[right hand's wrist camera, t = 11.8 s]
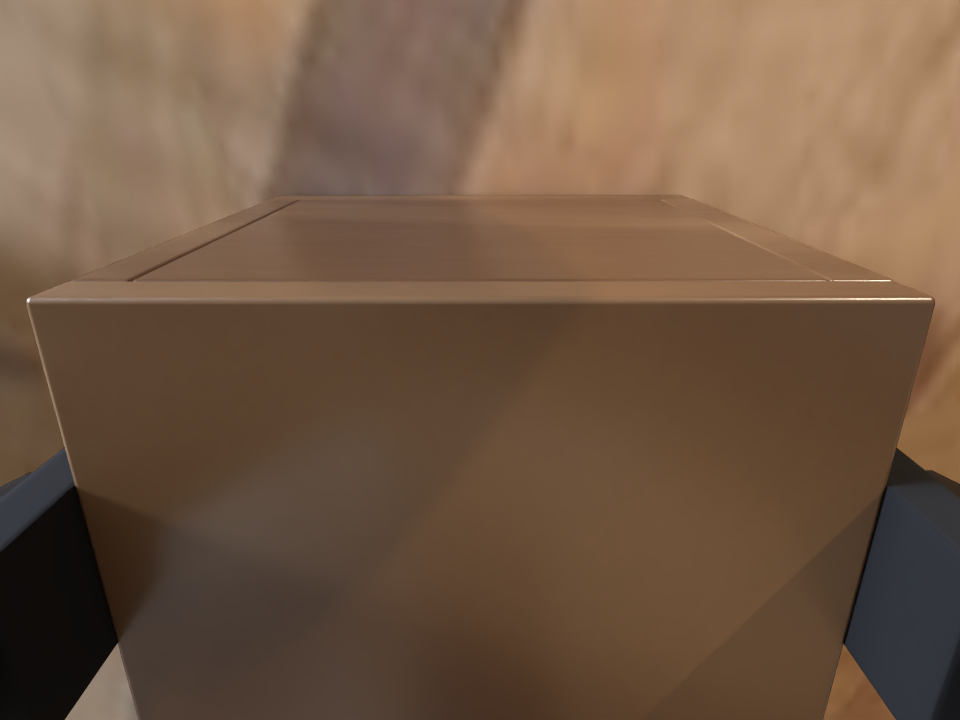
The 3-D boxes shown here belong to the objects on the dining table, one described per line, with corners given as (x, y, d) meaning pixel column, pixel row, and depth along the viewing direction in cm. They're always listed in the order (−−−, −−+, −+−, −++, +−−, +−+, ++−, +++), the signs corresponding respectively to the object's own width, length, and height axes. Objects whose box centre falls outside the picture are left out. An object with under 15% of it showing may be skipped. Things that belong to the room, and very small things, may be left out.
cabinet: (631, 657, 22) (737, 1042, 13) (330, 657, 22) (223, 1041, 13) (683, 194, 17) (940, 297, 7) (277, 195, 17) (19, 297, 7)
